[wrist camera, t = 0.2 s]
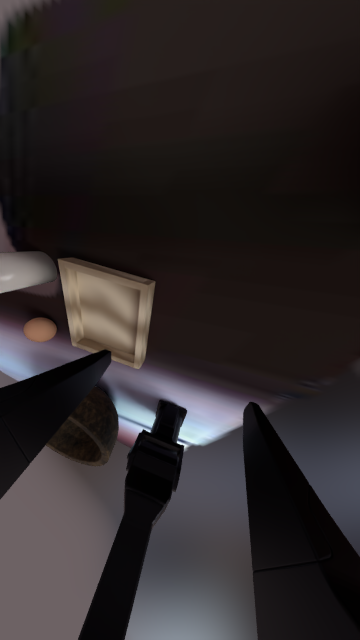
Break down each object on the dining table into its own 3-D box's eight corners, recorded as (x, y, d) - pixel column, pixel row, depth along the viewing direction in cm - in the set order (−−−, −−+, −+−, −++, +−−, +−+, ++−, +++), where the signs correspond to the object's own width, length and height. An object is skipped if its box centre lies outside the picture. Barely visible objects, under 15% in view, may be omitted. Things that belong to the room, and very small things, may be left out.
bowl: (96, 352, 33) (50, 391, 24) (149, 418, 39) (128, 469, 30) (45, 372, 41) (-2, 406, 33) (95, 424, 48) (67, 464, 39)
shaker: (60, 285, 27) (-8, 303, 19) (35, 277, 28) (-40, 291, 20) (54, 254, 25) (-26, 260, 17) (27, 246, 25) (-63, 248, 17)
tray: (144, 360, 30) (138, 369, 28) (82, 338, 32) (72, 345, 30) (155, 281, 22) (148, 285, 20) (72, 257, 24) (57, 258, 22)
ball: (64, 336, 33) (41, 350, 29) (45, 330, 34) (20, 342, 29) (60, 317, 31) (35, 329, 26) (40, 310, 31) (12, 321, 27)
